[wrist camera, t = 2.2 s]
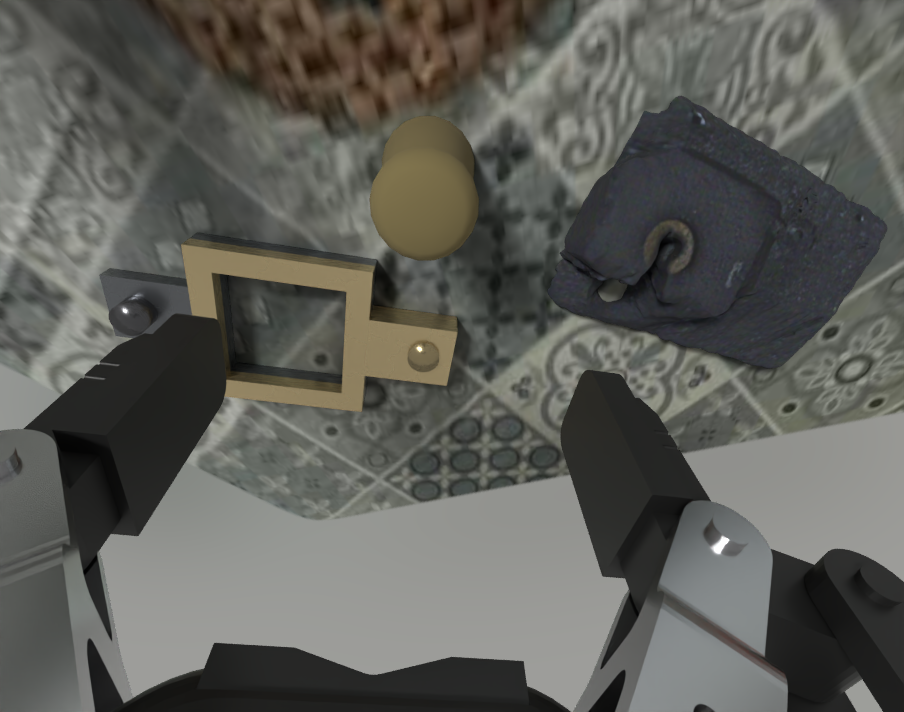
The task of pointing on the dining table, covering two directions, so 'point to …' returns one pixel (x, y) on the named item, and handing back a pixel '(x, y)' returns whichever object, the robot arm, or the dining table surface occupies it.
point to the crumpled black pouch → (714, 241)
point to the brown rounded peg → (425, 189)
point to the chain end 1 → (159, 297)
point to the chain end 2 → (366, 332)
